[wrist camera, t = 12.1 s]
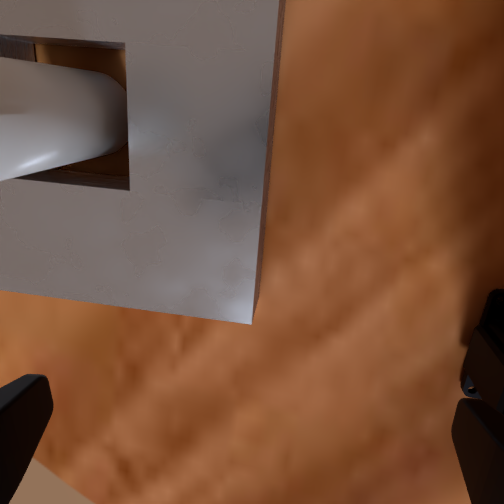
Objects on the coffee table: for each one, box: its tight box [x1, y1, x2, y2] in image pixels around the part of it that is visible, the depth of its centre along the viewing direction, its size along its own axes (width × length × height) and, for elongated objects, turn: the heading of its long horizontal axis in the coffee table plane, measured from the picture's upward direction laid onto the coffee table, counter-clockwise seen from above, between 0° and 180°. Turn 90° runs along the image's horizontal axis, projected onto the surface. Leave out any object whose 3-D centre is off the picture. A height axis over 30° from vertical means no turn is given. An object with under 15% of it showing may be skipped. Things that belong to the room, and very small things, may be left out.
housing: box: [0, 0, 286, 325], centre depth 19 cm, size 18×18×3 cm
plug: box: [0, 57, 128, 181], centre depth 14 cm, size 5×5×13 cm
